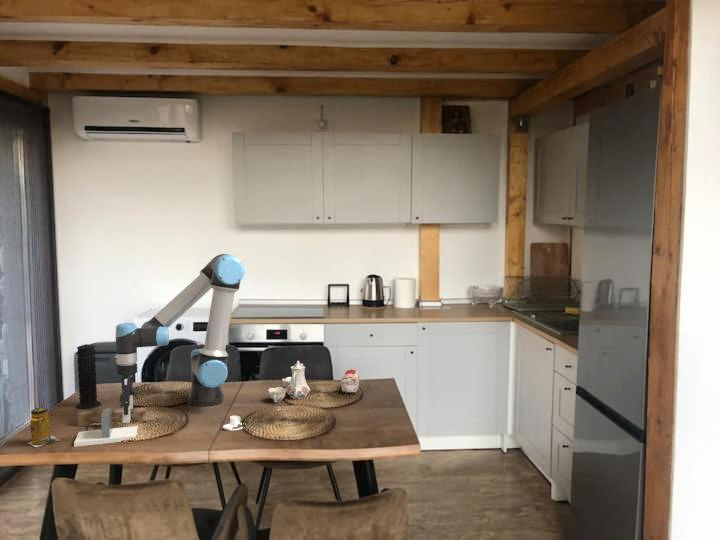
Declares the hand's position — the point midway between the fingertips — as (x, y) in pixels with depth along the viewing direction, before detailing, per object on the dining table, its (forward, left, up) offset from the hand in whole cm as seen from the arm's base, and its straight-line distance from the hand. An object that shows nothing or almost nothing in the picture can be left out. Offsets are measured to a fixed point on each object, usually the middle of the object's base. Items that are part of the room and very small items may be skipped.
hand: (128, 417), depth 227 cm
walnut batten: (+6, 0, -2) cm, 6 cm away
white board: (+6, +17, -2) cm, 18 cm away
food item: (-94, -13, -2) cm, 95 cm away
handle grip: (+18, -27, -2) cm, 32 cm away
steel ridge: (+6, +17, 0) cm, 18 cm away
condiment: (+27, +14, -2) cm, 30 cm away
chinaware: (-67, -13, -2) cm, 69 cm away
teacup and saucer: (-36, +18, -2) cm, 40 cm away
